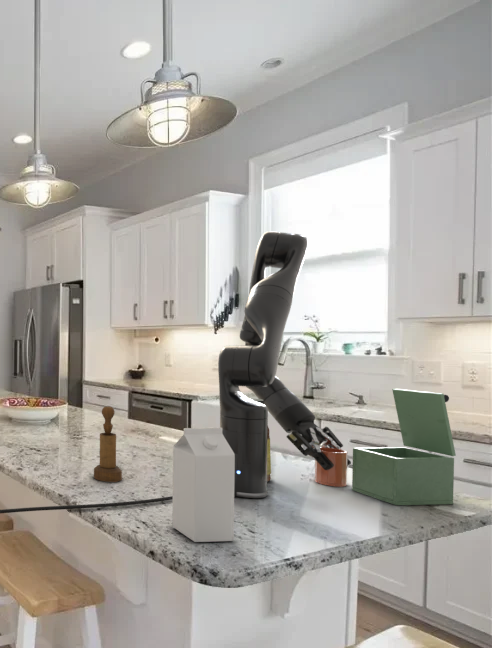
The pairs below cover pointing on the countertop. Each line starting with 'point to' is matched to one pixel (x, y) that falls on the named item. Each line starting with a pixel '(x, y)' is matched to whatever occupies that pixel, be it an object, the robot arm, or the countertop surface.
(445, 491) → the box
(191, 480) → the milk carton
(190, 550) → the countertop surface
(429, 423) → the lid
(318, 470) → the cup
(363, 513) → the countertop surface
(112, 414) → the brown wooden tall piece
